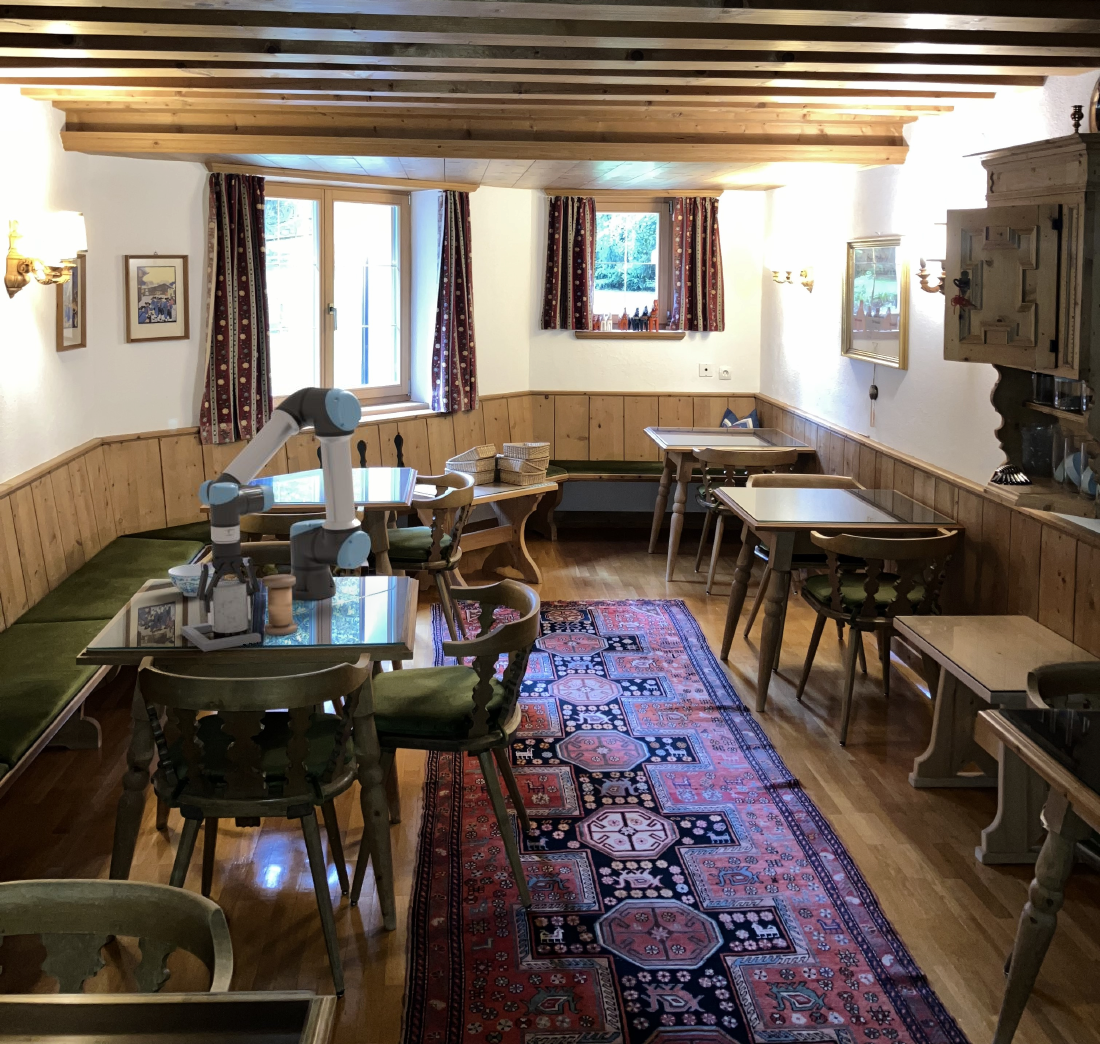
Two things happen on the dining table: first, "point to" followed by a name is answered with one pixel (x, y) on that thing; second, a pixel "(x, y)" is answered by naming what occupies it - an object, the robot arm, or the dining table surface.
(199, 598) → the robot arm
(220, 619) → the white scuffed cylinder
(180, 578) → the chinaware
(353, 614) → the dining table surface
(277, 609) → the bobbin
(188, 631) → the c-shaped bracket
